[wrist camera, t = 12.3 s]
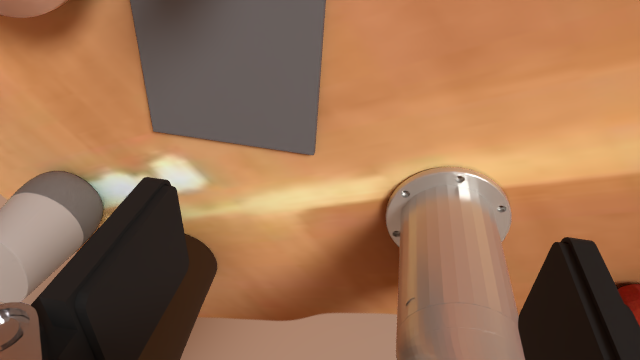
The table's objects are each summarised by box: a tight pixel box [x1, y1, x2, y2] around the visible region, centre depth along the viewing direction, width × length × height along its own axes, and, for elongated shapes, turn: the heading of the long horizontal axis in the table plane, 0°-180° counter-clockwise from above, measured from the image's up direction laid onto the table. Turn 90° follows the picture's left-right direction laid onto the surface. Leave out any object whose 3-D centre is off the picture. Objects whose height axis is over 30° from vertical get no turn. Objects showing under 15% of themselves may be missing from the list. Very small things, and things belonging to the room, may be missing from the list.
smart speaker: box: [0, 171, 103, 303], centre depth 49 cm, size 10×9×14 cm
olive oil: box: [138, 234, 217, 360], centre depth 48 cm, size 11×11×25 cm
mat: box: [130, 0, 326, 155], centre depth 41 cm, size 17×17×1 cm
